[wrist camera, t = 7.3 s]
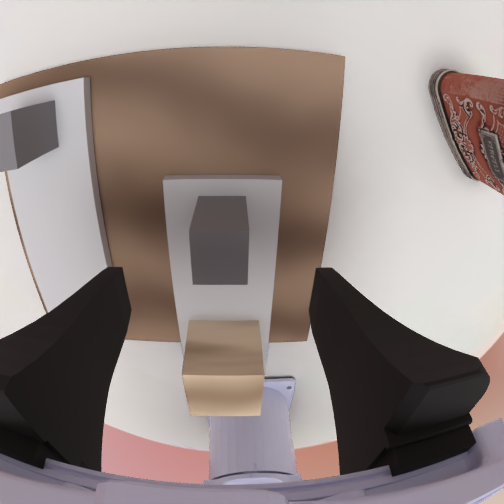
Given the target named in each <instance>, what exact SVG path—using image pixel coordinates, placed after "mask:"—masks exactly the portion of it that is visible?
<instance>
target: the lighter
mask: <svg viewBox="0 0 504 504" xmlns="http://www.w3.org/2000/svg"><path fill="white" fill-rule="evenodd" d="M429 92H430V96H431V99H432V102H433V105H434V108H435V112H436V115H437V118H438V120H439V123H440V126H441V128H442V131H443V134H444V137H445V139H446V141H447V143H448V145H449V147H450V149H451V151H452V153H453V155H454V157H455V159H456V161H457V162H458V164H459V166H460V167H461V169H462V171H463V172H464V174H465V175H466V176H468V177H469V178H471V179H473V180H475V181H481V182H483V183H485V184H486V185H488V186H490V187H491V188H493V189H495V190H496V191H498V192H499V193H501V194H503V195H504V79H498V78H492V77H485V76H478V75H470V74H462V73H460V72H458V71H456V70H448V69H441V70H438V71H436V72H435V73H434V74H433V75H432V77H431V79H430V81H429Z"/></svg>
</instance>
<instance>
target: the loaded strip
mask: <svg viewBox="0 0 504 504" xmlns="http://www.w3.org/2000/svg"><path fill="white" fill-rule="evenodd" d="M163 191H164V204H165V216H166V227H167V238H168V248H169V257H170V266H171V274H172V282H173V290H174V298H175V305H176V312H177V319H178V326H179V332H180V339H181V345H182V351H183V357H184V353H185V346H186V338H187V331H188V324H189V320H206V321H255V320H259V325H260V335H261V344H262V354H263V363H264V373H265V371H266V361H267V351H268V341H269V331H270V321H271V311H272V300H273V289H274V278H275V266H276V255H277V243H278V230H279V218H280V205H281V191H282V178H281V176H280V175H166V176H165V177H164V179H163Z"/></svg>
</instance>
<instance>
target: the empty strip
mask: <svg viewBox="0 0 504 504" xmlns="http://www.w3.org/2000/svg"><path fill="white" fill-rule="evenodd" d="M3 171H7V174H8V179H9V185H10V190H11V194H12V199H13V204H14V208H15V212H16V216H17V220H18V224H19V228H20V232H21V235H22V239H23V242H24V246H25V249H26V252H27V255H28V259H29V262H30V265H31V268H32V271H33V274H34V277H35V280H36V282H37V285H38V288H39V291H40V293H41V296H42V299H43V301H44V304H45V306H46V309H47V311H48V312H50V311H51V310H53V309H54V308H56V307H57V306H58V305H59V304H61V303H62V302H63V301H65V300H66V299H67V298H69V297H70V296H71V295H73V294H74V293H75V292H76V291H78V290H79V289H80V288H81V287H82V286H84V285H85V284H86V283H87V282H89V281H90V280H91V279H92V278H93V277H95V276H96V275H97V274H99V273H100V272H101V271H102V270H104V269H105V268H107V267H113V266H112V262H111V257H110V252H109V247H108V242H107V237H106V231H105V226H104V220H103V214H102V208H101V201H100V195H99V187H98V180H97V172H96V163H95V154H94V143H93V131H92V117H91V97H90V77H85V78H79V79H74V80H69V81H64V82H60V83H56V84H51V85H47V86H43V87H39V88H36V89H32V90H28V91H25V92H21V93H18V94H15V95H11V96H8V97H5V98H2V99H0V172H3Z"/></svg>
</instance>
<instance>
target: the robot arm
mask: <svg viewBox="0 0 504 504" xmlns="http://www.w3.org/2000/svg"><path fill="white" fill-rule="evenodd" d="M131 311H132V308H131V304H130V300H129V296H128V291H127V287H126V282H125V277H124V272H123V268H122V267H107V268H105V269H104V270H102V271H101V272H100V273H99V274H97V275H96V276H95V277H93V278H92V279H91V280H90V281H89V282H87V283H86V284H85V285H84V286H82V287H81V288H80V289H79V290H78V291H76V292H75V293H74V294H73V295H71V296H70V297H69V298H67V299H66V300H65V301H63V302H62V303H61V304H59V305H58V306H57V307H56V308H54V309H53V310H51V311H50V312H48V313H47V314H45V315H44V316H42V317H41V318H39V319H38V320H36V321H34V322H33V323H31V324H29V325H27V326H26V327H24V328H22V329H20V330H18V331H16V332H14V333H13V334H11V335H8V336H6V337H4V338H2V339H0V504H479V503H480V502H482V501H484V500H486V499H487V498H489V497H491V496H492V495H494V494H495V493H497V492H498V491H500V490H501V489H502V488H504V422H503V420H502V418H498V419H495V420H493V421H491V422H489V423H486V424H484V425H482V426H480V427H478V428H476V429H475V430H473V431H471V429H470V427H469V424H471V422H472V417H471V416H470V414H469V412H470V411H471V410H472V408H473V407H474V406H475V405H476V404H477V402H478V401H479V400H480V399H481V397H482V396H483V395H484V393H485V392H486V390H487V388H488V385H489V383H490V376H489V375H488V373H487V372H486V370H485V368H484V367H483V365H482V363H481V362H480V360H479V359H478V358H477V357H474V356H471V355H468V354H465V353H462V352H459V351H456V350H453V349H450V348H448V347H446V346H443V345H441V344H438V343H436V342H434V341H432V340H430V339H428V338H426V337H424V336H422V335H420V334H418V333H416V332H414V331H413V330H411V329H409V328H407V327H406V326H404V325H403V324H401V323H400V322H398V321H396V320H395V319H393V318H392V317H390V316H389V315H388V314H386V313H385V312H383V311H382V310H381V309H380V308H378V307H377V306H376V305H374V304H373V303H372V302H371V301H369V300H368V299H367V298H366V297H365V296H363V295H362V294H361V293H360V292H359V291H358V290H356V289H355V288H354V287H353V286H352V285H351V284H350V283H349V282H348V281H346V280H345V279H344V278H343V277H342V276H341V275H340V274H339V273H337V272H336V271H335V270H334V269H333V268H316V270H315V276H314V282H313V288H312V294H311V299H310V305H309V316H310V323H311V328H312V333H313V336H314V340H315V343H316V346H317V349H318V352H319V356H320V359H321V362H322V365H323V368H324V371H325V375H326V378H327V381H328V385H329V389H330V395H331V400H332V406H333V412H334V419H335V426H336V434H337V443H338V452H339V466H340V475H339V476H333V477H326V478H320V479H313V480H304V481H302V479H301V475H300V474H297V468H296V461H295V454H294V447H293V440H292V434H291V427H290V420H289V414H288V413H289V409H290V405H291V401H292V397H293V392H294V388H295V380H294V379H293V378H281V379H264V386H263V396H262V405H261V414H260V416H208V421H209V427H210V445H209V480H204V484H189V483H175V482H164V481H155V480H147V479H139V478H133V477H125V476H120V475H115V474H109V473H104V472H101V451H102V436H103V425H104V417H105V410H106V403H107V397H108V392H109V387H110V383H111V379H112V376H113V372H114V369H115V366H116V363H117V360H118V357H119V354H120V352H121V349H122V346H123V343H124V340H125V337H126V334H127V330H128V326H129V321H130V316H131Z"/></svg>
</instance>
